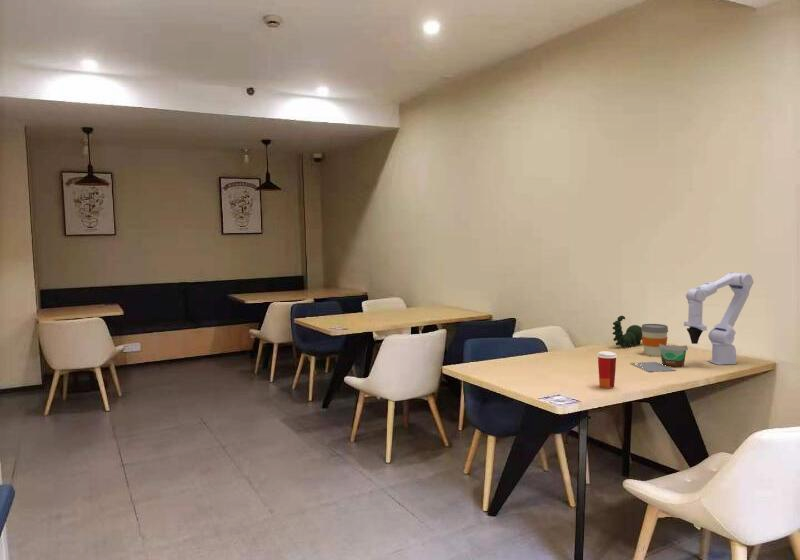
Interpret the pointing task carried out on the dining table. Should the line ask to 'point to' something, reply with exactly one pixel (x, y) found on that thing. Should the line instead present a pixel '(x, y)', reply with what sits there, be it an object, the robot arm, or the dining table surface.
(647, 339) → the reusable coffee cup
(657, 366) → the plain gray flat panel
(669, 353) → the food container
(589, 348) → the dining table surface
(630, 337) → the toy figurine
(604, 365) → the paper cup
